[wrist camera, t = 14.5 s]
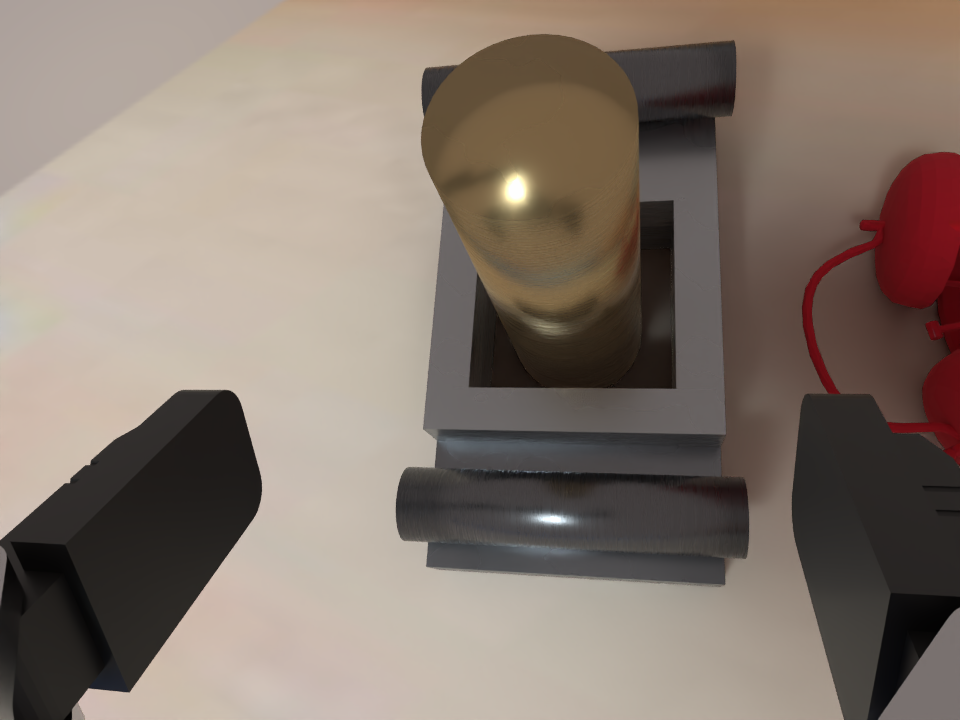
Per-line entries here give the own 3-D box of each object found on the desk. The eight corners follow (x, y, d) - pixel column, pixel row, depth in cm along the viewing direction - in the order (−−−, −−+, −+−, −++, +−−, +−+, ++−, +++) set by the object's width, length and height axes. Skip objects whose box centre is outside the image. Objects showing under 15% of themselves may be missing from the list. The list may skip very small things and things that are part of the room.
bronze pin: (511, 394, 24) (411, 226, 13) (518, 278, 25) (430, 44, 15) (641, 395, 23) (638, 216, 13) (641, 275, 24) (638, 24, 14)
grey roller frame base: (427, 569, 22) (370, 556, 18) (464, 135, 27) (426, 36, 23) (735, 587, 21) (760, 579, 16) (717, 118, 25) (733, 6, 21)
